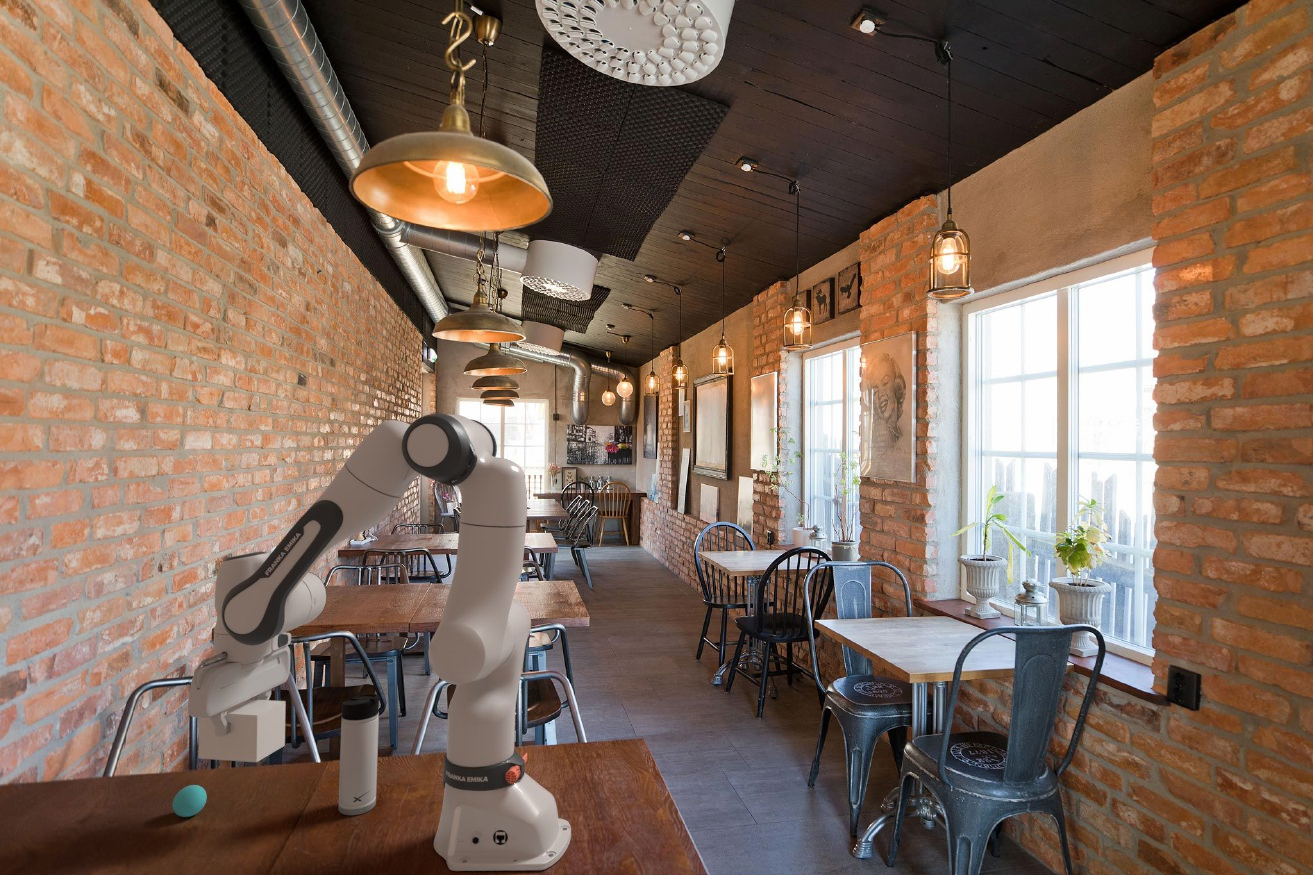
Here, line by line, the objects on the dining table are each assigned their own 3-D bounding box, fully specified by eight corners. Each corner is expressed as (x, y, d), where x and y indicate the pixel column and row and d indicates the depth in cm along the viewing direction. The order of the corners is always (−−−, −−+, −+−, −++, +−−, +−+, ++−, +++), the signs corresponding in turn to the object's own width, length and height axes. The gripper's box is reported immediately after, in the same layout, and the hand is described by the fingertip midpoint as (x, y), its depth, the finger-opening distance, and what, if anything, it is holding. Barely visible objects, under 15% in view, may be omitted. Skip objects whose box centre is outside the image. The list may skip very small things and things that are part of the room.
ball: (196, 774, 125) (184, 798, 125) (173, 787, 120) (160, 811, 120) (218, 789, 124) (205, 813, 124) (195, 803, 119) (182, 828, 119)
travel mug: (363, 818, 122) (367, 703, 123) (330, 813, 123) (334, 700, 124) (384, 801, 128) (388, 691, 129) (352, 797, 129) (356, 688, 130)
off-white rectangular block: (284, 745, 123) (285, 701, 124) (256, 762, 117) (257, 715, 117) (229, 741, 125) (230, 698, 125) (198, 758, 118) (199, 711, 118)
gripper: (213, 663, 111) (211, 750, 110) (297, 632, 131) (295, 706, 131) (178, 661, 112) (175, 748, 111) (267, 630, 132) (265, 704, 131)
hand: (241, 725), depth 121 cm, fingers closed on off-white rectangular block, 7 cm apart
